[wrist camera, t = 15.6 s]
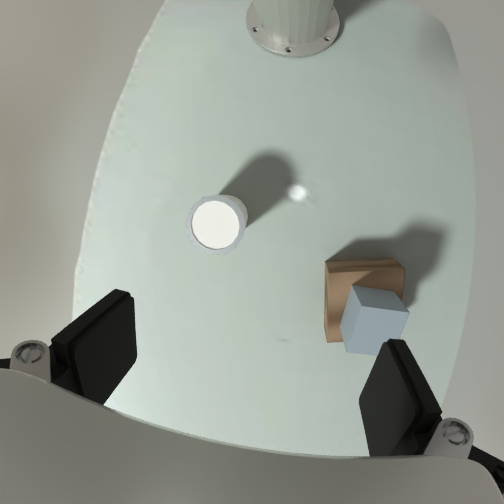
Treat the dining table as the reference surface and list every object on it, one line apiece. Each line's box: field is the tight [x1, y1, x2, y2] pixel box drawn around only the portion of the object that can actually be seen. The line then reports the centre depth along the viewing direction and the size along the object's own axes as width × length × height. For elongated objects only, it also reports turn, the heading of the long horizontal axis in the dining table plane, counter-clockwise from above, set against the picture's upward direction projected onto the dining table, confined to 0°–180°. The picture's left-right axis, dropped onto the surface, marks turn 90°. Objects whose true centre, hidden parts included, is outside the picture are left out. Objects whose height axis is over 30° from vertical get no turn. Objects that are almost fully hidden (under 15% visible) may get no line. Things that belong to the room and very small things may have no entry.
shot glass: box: [186, 195, 248, 255], centre depth 37 cm, size 7×7×7 cm
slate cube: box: [340, 285, 410, 355], centre depth 33 cm, size 6×6×6 cm
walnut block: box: [324, 258, 405, 343], centre depth 39 cm, size 10×10×5 cm
